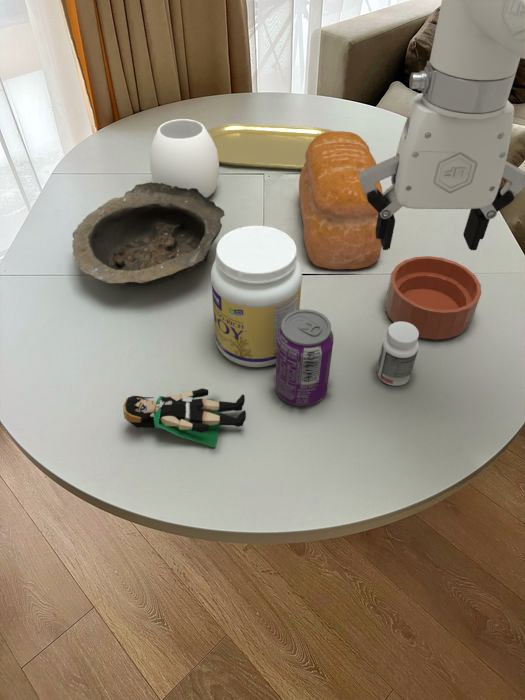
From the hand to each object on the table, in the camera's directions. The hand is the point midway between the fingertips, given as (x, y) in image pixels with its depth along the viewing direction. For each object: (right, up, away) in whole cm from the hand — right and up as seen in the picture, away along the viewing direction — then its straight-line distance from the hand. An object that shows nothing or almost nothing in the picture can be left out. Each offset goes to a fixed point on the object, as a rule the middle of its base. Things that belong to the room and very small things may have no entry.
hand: (426, 242), depth 63 cm
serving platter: (-16, +32, +63) cm, 72 cm away
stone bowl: (-38, +2, +33) cm, 50 cm away
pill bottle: (0, -16, +16) cm, 22 cm away
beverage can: (-13, -18, +14) cm, 26 cm away
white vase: (-34, +19, +49) cm, 63 cm away
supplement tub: (-19, -11, +21) cm, 30 cm away
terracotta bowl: (+7, -6, +25) cm, 27 cm away
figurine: (-28, -22, +10) cm, 37 cm away
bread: (-5, +10, +41) cm, 43 cm away
